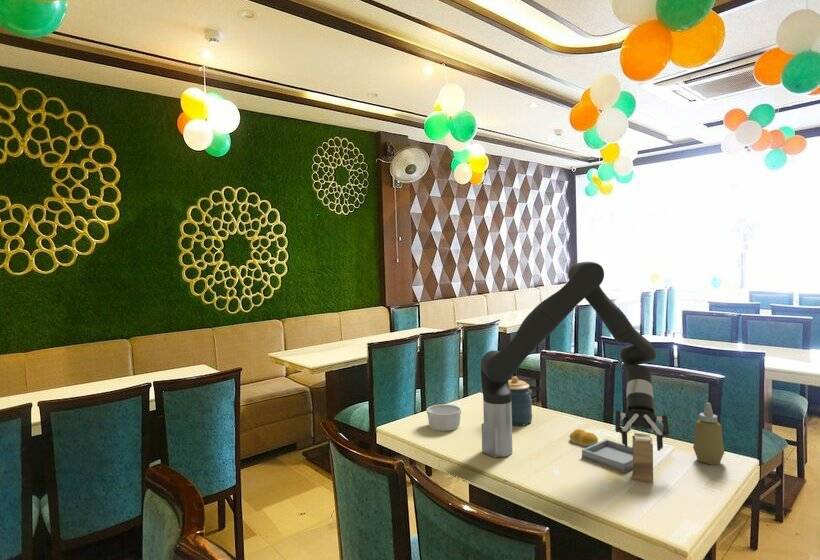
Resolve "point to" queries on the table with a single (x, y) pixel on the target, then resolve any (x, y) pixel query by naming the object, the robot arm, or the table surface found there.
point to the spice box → (642, 458)
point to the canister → (520, 401)
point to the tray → (610, 455)
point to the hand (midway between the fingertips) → (642, 447)
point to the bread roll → (583, 438)
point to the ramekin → (444, 417)
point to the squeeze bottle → (708, 438)
